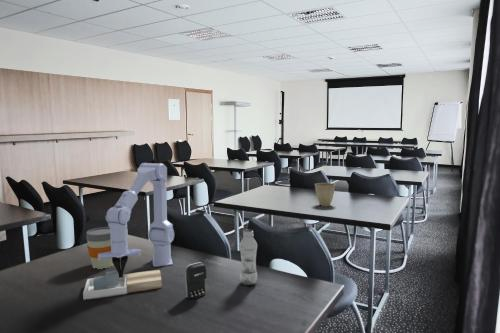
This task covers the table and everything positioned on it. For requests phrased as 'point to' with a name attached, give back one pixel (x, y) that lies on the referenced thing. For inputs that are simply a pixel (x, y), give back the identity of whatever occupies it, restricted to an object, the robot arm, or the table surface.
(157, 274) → the beige piece
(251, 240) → the plastic bottle
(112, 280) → the blue-grey cube
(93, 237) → the reusable coffee cup
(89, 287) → the box
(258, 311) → the table surface
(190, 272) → the battery charger
